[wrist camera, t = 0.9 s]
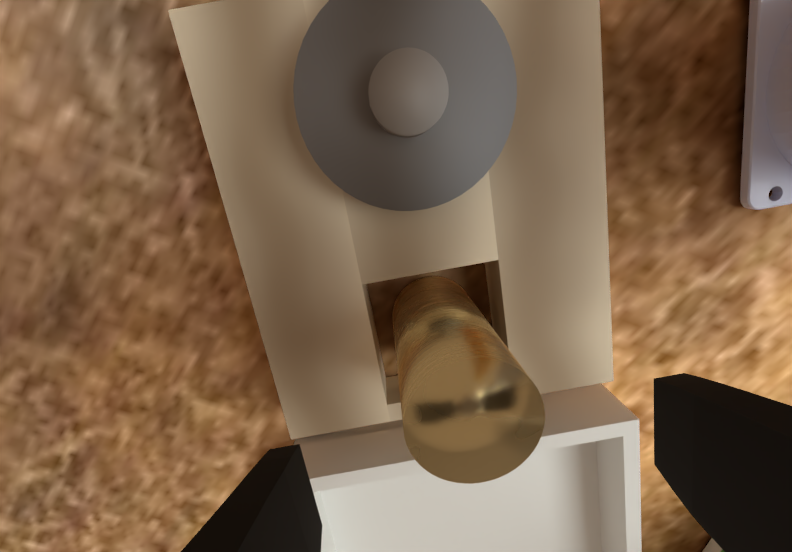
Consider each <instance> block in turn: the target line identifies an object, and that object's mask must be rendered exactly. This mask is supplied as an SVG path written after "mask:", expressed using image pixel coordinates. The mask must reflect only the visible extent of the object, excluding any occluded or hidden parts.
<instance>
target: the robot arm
mask: <svg viewBox="0 0 792 552" xmlns="http://www.w3.org/2000/svg"><path fill="white" fill-rule="evenodd" d="M771 189H772V195H771V196H770V198H769V192H770V190H771ZM740 201H741V204H742V205H743V207H745V208H747V209H754V210H761V209H767V208H772V207H778V206H783V205H789V204H792V0H750V9H749V29H748V49H747V69H746V89H745V109H744V129H743V150H742V170H741V190H740ZM654 462H655V466H656V467H657V468H658V470H659V471H660V473H661V474H662V475H663V477H664V478H665V480H666V481H667V482H668V484H669V485H670V487H671V488H672V490H673V491H674V492H675V494H676V495H677V496H678V498H679V499H680V500H681V502H682V503H683V504H684V505H685V507H686V508H687V509H688V511H689V512H690V513H691V515H692V516H693V517H694V518H695V519H696V520H697V522H698V523H699V524H700V525H701V526H702V527H703V528H704V530H705V531H706V532H707V533H708V534H709V535H710V536H711V537H712V538H713V539H714V541H715V542H716V543H717V544H718V545H719V546H720V547H721V548H722V549H723V551H724V552H792V406H790V405H787V404H783V403H780V402H777V401H774V400H771V399H768V398H765V397H762V396H759V395H756V394H753V393H750V392H747V391H744V390H740V389H737V388H734V387H731V386H728V385H724V384H721V383H718V382H715V381H711V380H708V379H704V378H701V377H697V376H693V375H689V374H685V373H683V374H677V375H672V376H666V377H661V378H656V379H654ZM321 540H322V522H321V519H320V515H319V511H318V508H317V504H316V501H315V497H314V494H313V490H312V487H311V483H310V479H309V476H308V472H307V469H306V465H305V462H304V458H303V454H302V451H301V447H300V444H297V445H291V446H286V447H280V448H275V449H270V450H269V451H268V452H267V453H266V454H265V455H264V456H263V457H262V458H261V460H260V461H259V462H258V463H257V464H256V465H255V466H254V468H253V469H252V470H251V471H250V472H249V473H248V475H247V476H246V477H245V478H244V479H243V481H242V482H241V483H240V484H239V485H238V486H237V488H236V489H235V490H234V491H233V492H232V494H231V495H230V496H229V497H228V498H227V499H226V501H225V502H224V503H223V504H222V505H221V506H220V508H219V509H218V510H217V511H216V512H215V513H214V514H213V516H212V517H211V518H210V519H209V520H208V521H207V523H206V524H205V525H204V526H203V527H202V528H201V529H200V531H199V532H198V533H197V534H196V535H195V536H194V538H193V539H192V540H191V541H190V542H189V543H188V544H187V545H186V547H185V548H184V549H183V550H182V551H181V552H321Z"/></svg>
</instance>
